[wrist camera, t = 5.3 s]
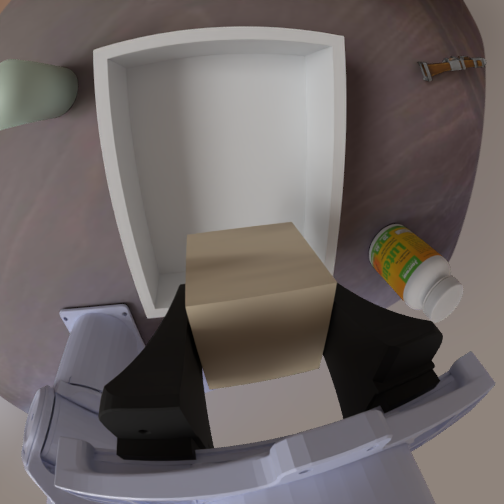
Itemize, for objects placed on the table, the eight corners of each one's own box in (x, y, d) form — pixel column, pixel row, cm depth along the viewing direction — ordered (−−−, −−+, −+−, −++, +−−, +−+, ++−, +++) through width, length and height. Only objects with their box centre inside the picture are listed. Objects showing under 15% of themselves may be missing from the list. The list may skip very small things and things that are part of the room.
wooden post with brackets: (470, 65, 16) (492, 71, 12) (413, 76, 19) (430, 81, 16) (465, 50, 15) (487, 53, 11) (406, 60, 18) (423, 63, 15)
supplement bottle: (377, 219, 24) (445, 277, 16) (413, 224, 25) (477, 275, 17) (360, 268, 26) (414, 334, 18) (397, 268, 28) (449, 324, 19)
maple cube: (288, 301, 16) (319, 368, 11) (202, 314, 15) (209, 389, 11) (291, 221, 13) (336, 282, 9) (186, 234, 12) (185, 306, 8)
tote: (307, 257, 24) (330, 291, 20) (153, 278, 22) (147, 318, 18) (310, 49, 15) (343, 36, 11) (117, 62, 13) (93, 50, 9)
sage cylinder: (80, 109, 14) (29, 116, 8) (37, 124, 14) (-18, 141, 8) (77, 60, 12) (27, 47, 6) (34, 78, 12) (-22, 77, 6)
